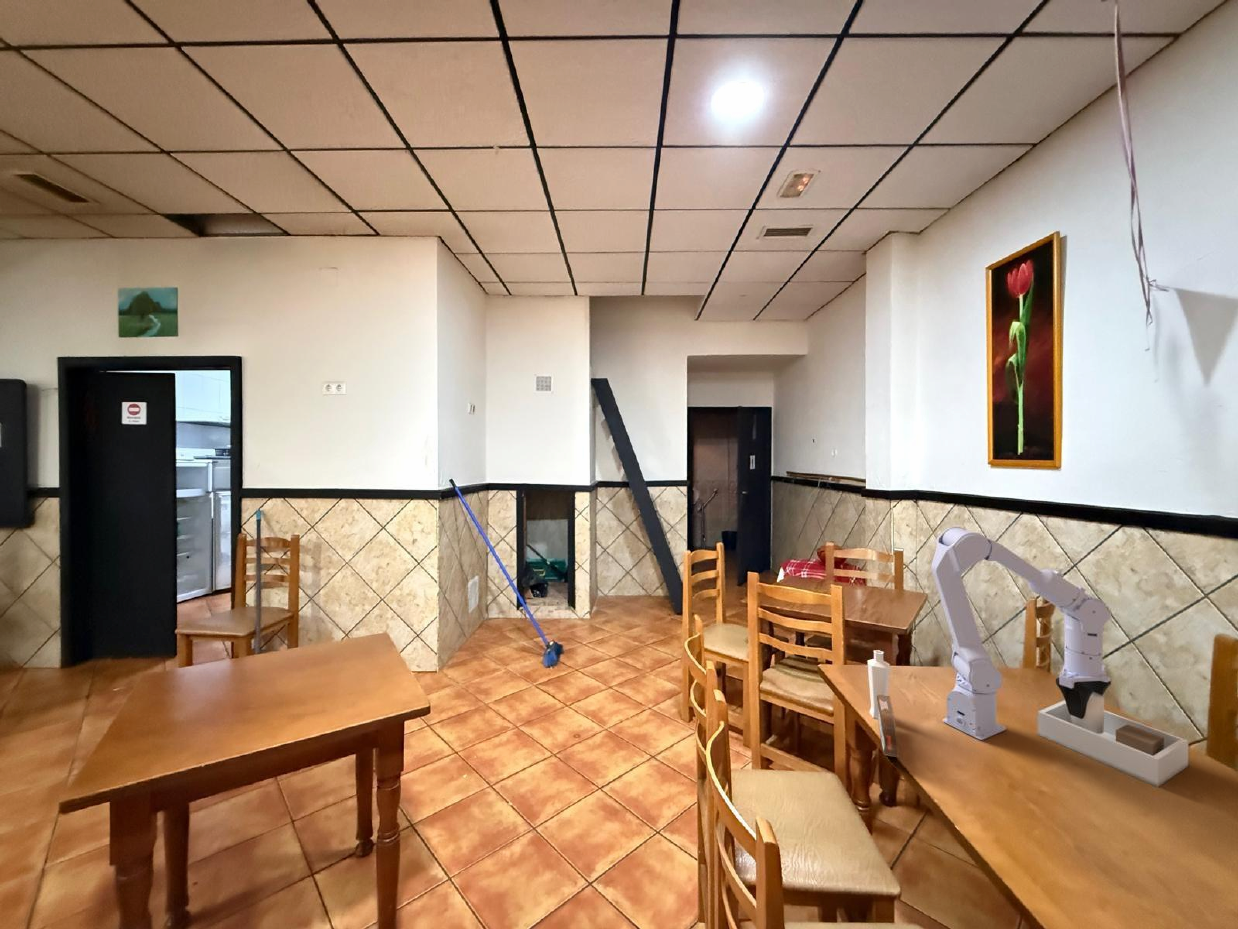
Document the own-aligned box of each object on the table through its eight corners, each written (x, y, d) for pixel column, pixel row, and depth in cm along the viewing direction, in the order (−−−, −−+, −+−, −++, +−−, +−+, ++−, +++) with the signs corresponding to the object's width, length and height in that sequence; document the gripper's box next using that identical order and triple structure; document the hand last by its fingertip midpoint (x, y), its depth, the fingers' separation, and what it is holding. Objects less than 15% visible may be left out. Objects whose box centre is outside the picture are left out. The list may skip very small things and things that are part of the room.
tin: (899, 767, 90) (899, 724, 90) (881, 763, 91) (881, 721, 91) (891, 726, 104) (891, 689, 103) (875, 723, 105) (875, 686, 105)
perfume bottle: (870, 708, 111) (870, 646, 111) (891, 715, 108) (891, 651, 108) (864, 715, 108) (864, 652, 108) (885, 723, 105) (885, 657, 105)
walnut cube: (1152, 770, 87) (1152, 744, 87) (1115, 755, 92) (1115, 730, 92) (1163, 763, 89) (1164, 737, 89) (1127, 748, 94) (1127, 724, 94)
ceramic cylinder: (1092, 735, 95) (1092, 701, 95) (1064, 721, 100) (1064, 689, 99) (1110, 732, 96) (1110, 698, 96) (1081, 718, 101) (1081, 687, 101)
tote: (1157, 787, 84) (1157, 759, 84) (1037, 734, 100) (1037, 711, 100) (1188, 766, 89) (1188, 740, 89) (1070, 719, 105) (1070, 697, 105)
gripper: (1091, 664, 91) (1091, 732, 92) (1125, 650, 97) (1125, 714, 98) (1046, 650, 98) (1046, 714, 98) (1081, 639, 104) (1081, 699, 104)
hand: (1083, 713), depth 98 cm, fingers closed on ceramic cylinder, 5 cm apart
